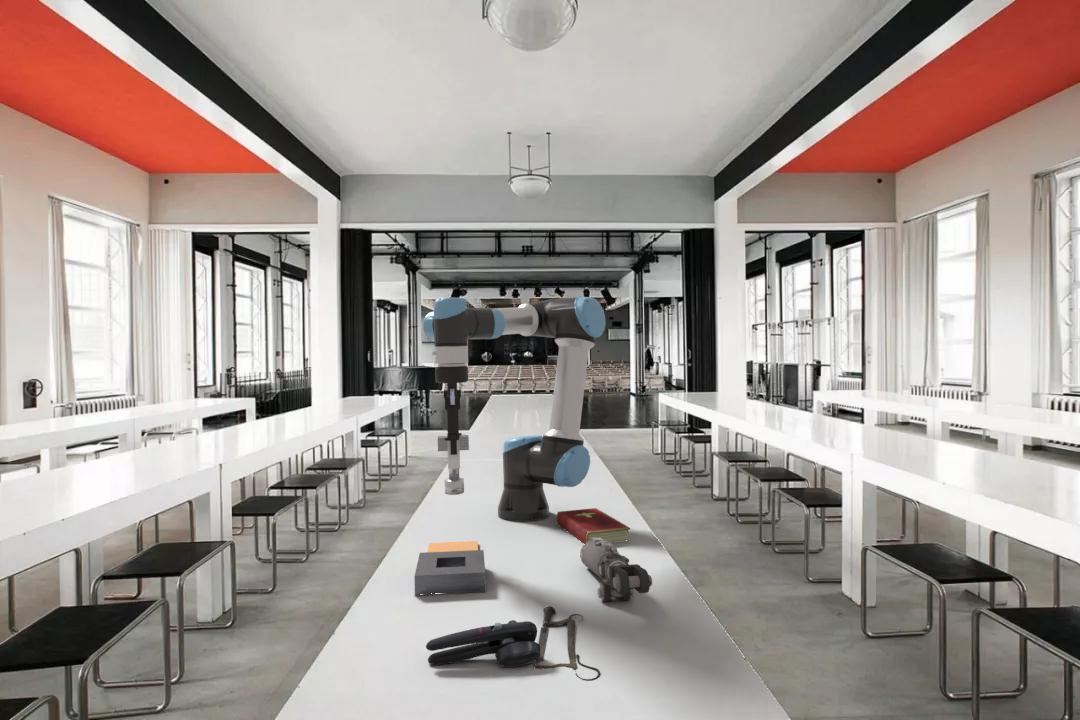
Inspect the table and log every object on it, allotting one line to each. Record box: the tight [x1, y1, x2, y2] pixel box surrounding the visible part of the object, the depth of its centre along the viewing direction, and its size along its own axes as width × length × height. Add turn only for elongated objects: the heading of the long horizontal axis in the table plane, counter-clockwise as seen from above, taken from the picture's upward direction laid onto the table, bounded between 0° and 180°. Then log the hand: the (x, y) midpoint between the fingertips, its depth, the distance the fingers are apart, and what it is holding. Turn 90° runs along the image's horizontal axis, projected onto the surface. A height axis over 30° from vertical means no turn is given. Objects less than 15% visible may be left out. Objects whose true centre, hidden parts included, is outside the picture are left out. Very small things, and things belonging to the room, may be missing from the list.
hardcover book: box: [556, 507, 631, 545], centre depth 164 cm, size 12×21×4 cm, turn 19°
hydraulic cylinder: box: [579, 538, 653, 602], centre depth 124 cm, size 7×37×10 cm, turn 9°
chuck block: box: [414, 549, 487, 596], centre depth 130 cm, size 14×14×4 cm
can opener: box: [425, 619, 540, 668], centre depth 96 cm, size 18×7×6 cm, turn 96°
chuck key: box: [437, 434, 470, 496], centre depth 142 cm, size 7×4×13 cm, turn 98°
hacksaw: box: [532, 605, 601, 682], centre depth 103 cm, size 24×10×2 cm, turn 176°
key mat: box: [426, 540, 479, 552], centre depth 148 cm, size 12×12×1 cm
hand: (454, 466), depth 142 cm, fingers closed on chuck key, 3 cm apart
